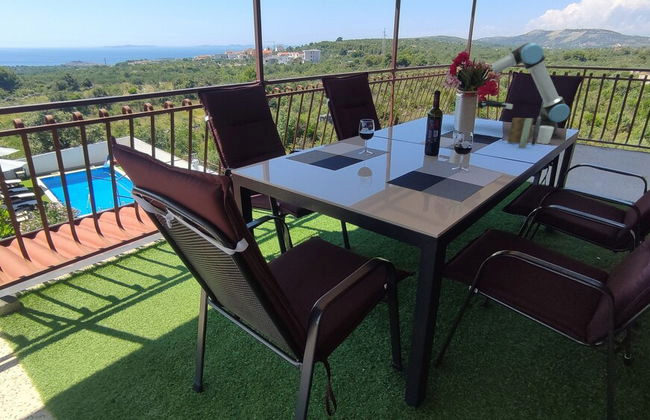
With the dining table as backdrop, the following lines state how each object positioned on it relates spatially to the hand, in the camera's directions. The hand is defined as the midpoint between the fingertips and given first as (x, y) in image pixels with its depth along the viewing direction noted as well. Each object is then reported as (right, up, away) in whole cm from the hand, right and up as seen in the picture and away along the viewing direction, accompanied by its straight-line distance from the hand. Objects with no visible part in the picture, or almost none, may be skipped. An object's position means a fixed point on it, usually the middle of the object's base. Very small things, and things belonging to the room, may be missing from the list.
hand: (511, 106), depth 228 cm
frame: (+9, -24, -1) cm, 26 cm away
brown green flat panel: (+6, -21, +4) cm, 23 cm away
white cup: (+23, -21, +6) cm, 32 cm away
